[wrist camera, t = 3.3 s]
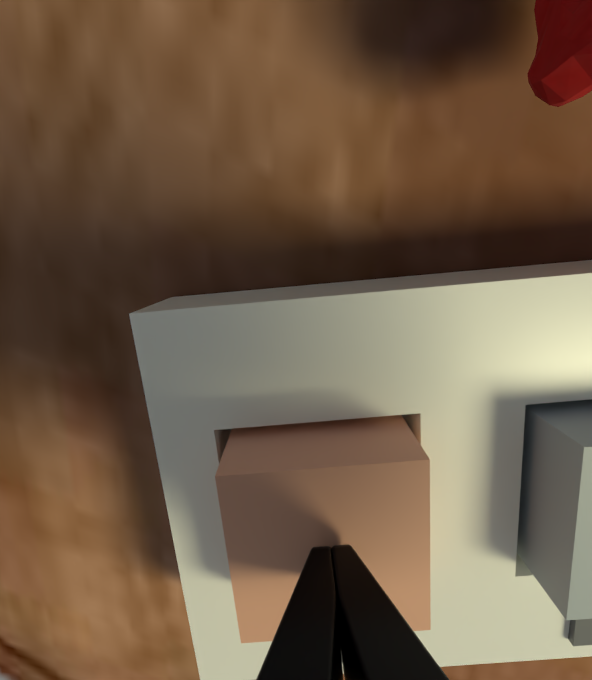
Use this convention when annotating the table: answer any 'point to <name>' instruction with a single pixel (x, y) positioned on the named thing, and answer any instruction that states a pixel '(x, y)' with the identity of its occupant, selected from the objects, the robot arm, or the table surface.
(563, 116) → the table surface
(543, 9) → the red irregular piece
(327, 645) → the robot arm
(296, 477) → the terracotta tile
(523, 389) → the button board
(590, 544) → the slate tile
